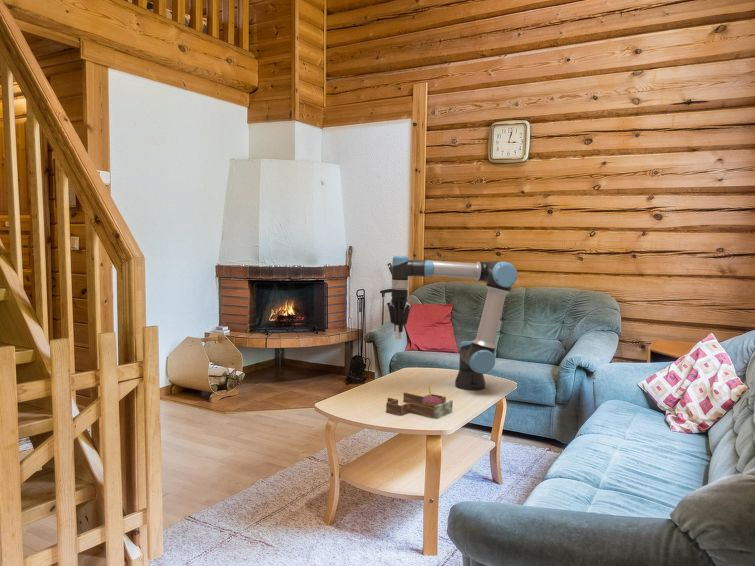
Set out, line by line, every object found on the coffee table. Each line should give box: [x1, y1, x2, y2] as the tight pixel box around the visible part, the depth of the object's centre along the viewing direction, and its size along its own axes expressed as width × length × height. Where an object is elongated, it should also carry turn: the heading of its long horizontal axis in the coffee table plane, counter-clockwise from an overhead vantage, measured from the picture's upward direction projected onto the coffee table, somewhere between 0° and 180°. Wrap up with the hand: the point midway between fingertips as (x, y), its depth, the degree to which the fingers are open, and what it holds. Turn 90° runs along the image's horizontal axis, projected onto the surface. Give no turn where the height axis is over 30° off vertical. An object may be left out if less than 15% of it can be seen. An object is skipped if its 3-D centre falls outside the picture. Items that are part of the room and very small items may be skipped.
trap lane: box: [385, 392, 454, 420], centre depth 257 cm, size 26×25×5 cm
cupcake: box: [422, 385, 442, 408], centre depth 253 cm, size 9×8×12 cm
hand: (398, 338), depth 280 cm, fingers closed
